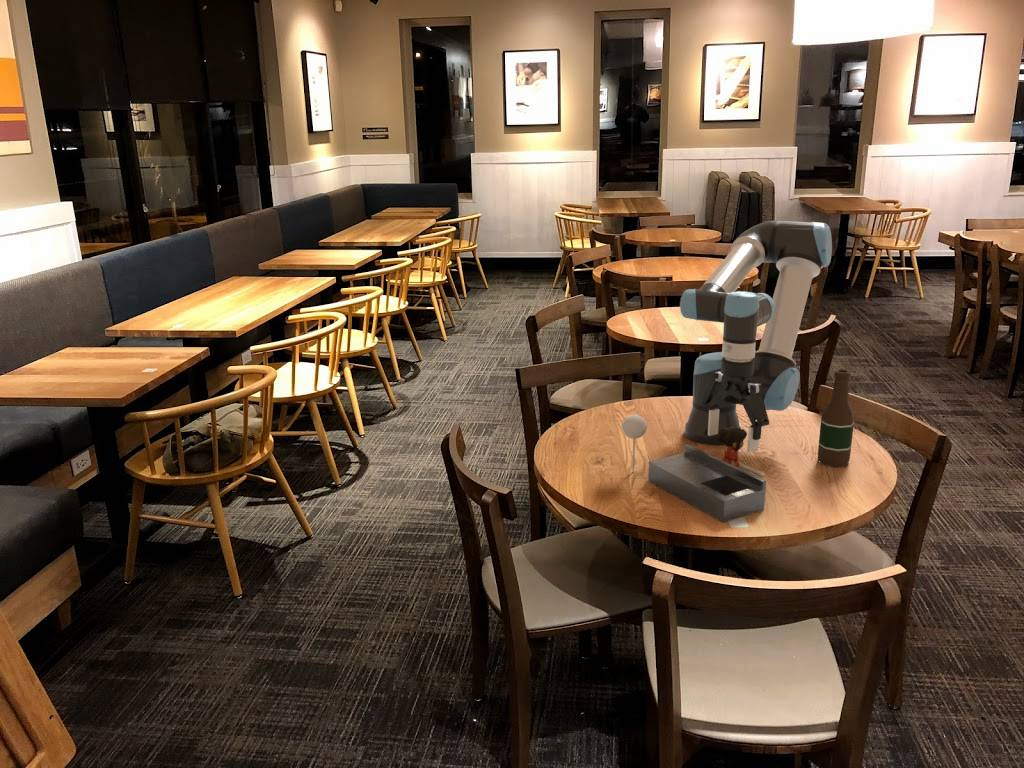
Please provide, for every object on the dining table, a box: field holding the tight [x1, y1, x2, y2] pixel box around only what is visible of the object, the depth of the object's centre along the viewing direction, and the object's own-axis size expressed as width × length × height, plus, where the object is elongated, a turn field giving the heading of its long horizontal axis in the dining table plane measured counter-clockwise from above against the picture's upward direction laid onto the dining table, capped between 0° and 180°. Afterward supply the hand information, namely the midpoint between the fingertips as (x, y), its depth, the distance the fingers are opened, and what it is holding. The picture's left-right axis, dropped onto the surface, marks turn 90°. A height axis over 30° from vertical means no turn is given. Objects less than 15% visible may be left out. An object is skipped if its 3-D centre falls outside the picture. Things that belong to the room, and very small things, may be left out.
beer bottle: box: [817, 369, 855, 468], centre depth 203 cm, size 8×8×24 cm
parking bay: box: [738, 461, 766, 478], centre depth 201 cm, size 12×12×1 cm
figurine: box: [718, 426, 748, 468], centre depth 199 cm, size 6×6×12 cm
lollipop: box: [621, 414, 648, 473], centre depth 201 cm, size 6×6×15 cm
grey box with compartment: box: [647, 443, 767, 523], centre depth 188 cm, size 26×12×7 cm, turn 29°
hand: (732, 442), depth 198 cm, fingers open, 13 cm apart
